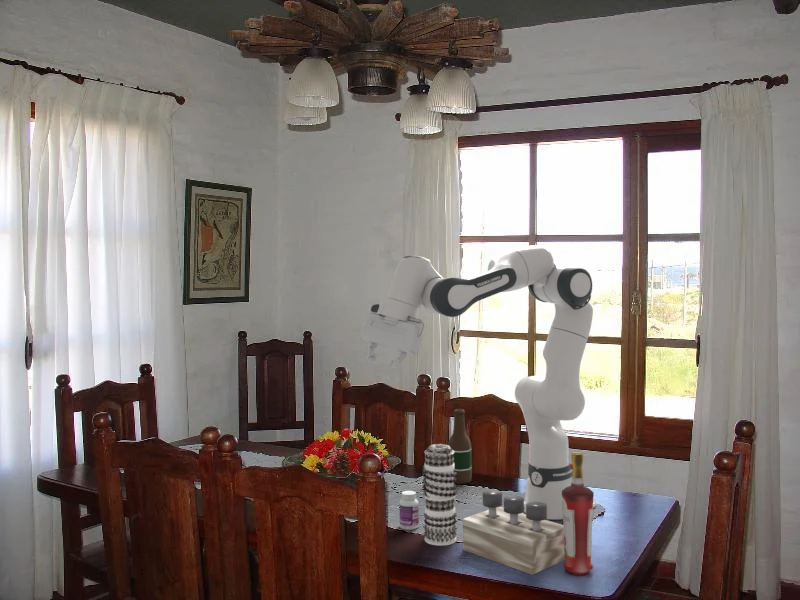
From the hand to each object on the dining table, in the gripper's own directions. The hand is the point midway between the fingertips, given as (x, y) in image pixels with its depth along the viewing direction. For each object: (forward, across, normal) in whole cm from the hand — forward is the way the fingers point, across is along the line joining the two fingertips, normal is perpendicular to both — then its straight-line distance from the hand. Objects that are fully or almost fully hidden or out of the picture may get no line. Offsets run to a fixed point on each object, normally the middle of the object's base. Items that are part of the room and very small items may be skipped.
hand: (381, 363), depth 202 cm
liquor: (+32, -53, -32) cm, 69 cm away
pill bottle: (+40, -3, -26) cm, 48 cm away
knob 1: (+30, -28, -28) cm, 50 cm away
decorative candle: (+39, -16, -25) cm, 49 cm away
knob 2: (+29, -35, -28) cm, 53 cm away
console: (+35, -36, -30) cm, 58 cm away
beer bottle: (+29, +17, -66) cm, 74 cm away
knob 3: (+28, -42, -28) cm, 58 cm away
